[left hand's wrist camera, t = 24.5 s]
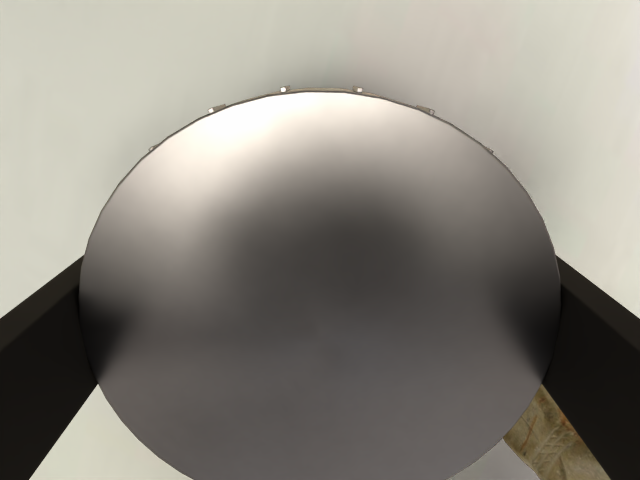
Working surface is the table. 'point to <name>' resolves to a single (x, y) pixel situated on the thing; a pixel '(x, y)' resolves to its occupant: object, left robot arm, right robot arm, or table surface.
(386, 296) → the lid
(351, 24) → the table surface
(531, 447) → the sculpture
